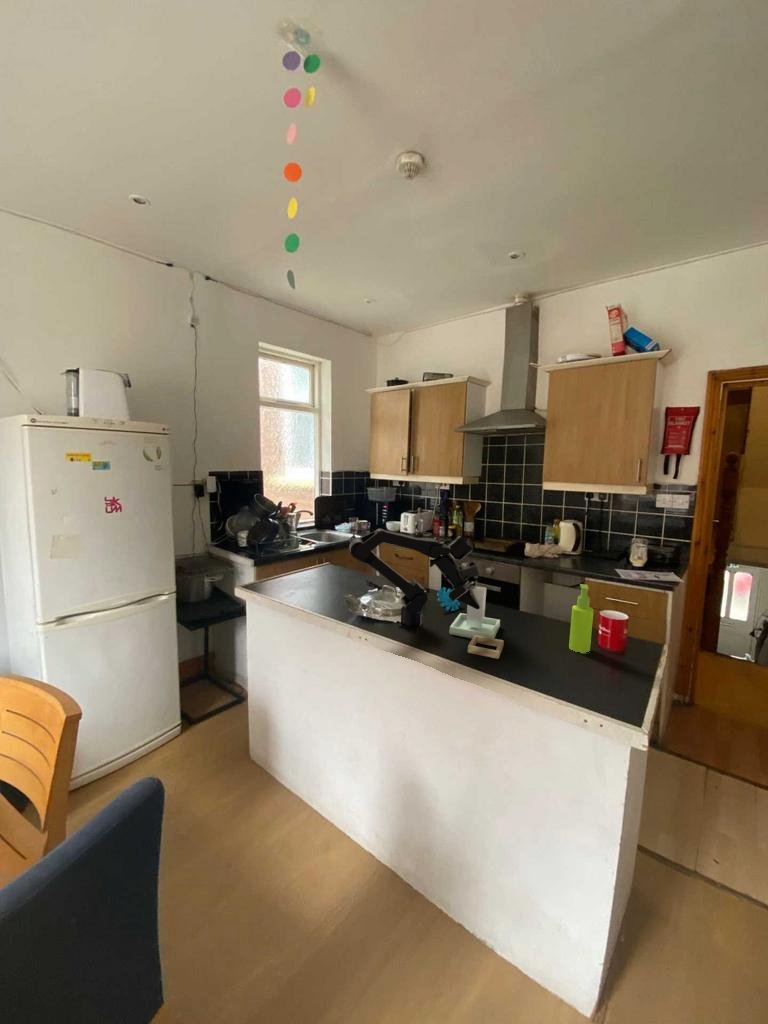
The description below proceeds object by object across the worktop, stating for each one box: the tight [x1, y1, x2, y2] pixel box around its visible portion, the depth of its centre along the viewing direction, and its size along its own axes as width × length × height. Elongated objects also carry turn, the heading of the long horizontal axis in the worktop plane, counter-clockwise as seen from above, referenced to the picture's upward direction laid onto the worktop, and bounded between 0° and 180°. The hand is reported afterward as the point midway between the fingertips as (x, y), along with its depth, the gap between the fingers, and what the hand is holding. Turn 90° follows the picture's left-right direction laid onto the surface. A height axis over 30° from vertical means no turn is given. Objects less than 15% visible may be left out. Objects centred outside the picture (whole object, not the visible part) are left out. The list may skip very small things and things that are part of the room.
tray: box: [449, 612, 501, 639], centre depth 143 cm, size 14×14×2 cm
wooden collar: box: [467, 635, 504, 660], centre depth 129 cm, size 9×9×2 cm
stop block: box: [466, 585, 487, 628], centre depth 142 cm, size 5×5×12 cm
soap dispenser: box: [568, 583, 594, 654], centre depth 130 cm, size 6×7×20 cm
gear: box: [436, 587, 461, 612], centre depth 165 cm, size 11×6×10 cm
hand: (480, 606), depth 142 cm, fingers closed on stop block, 5 cm apart
